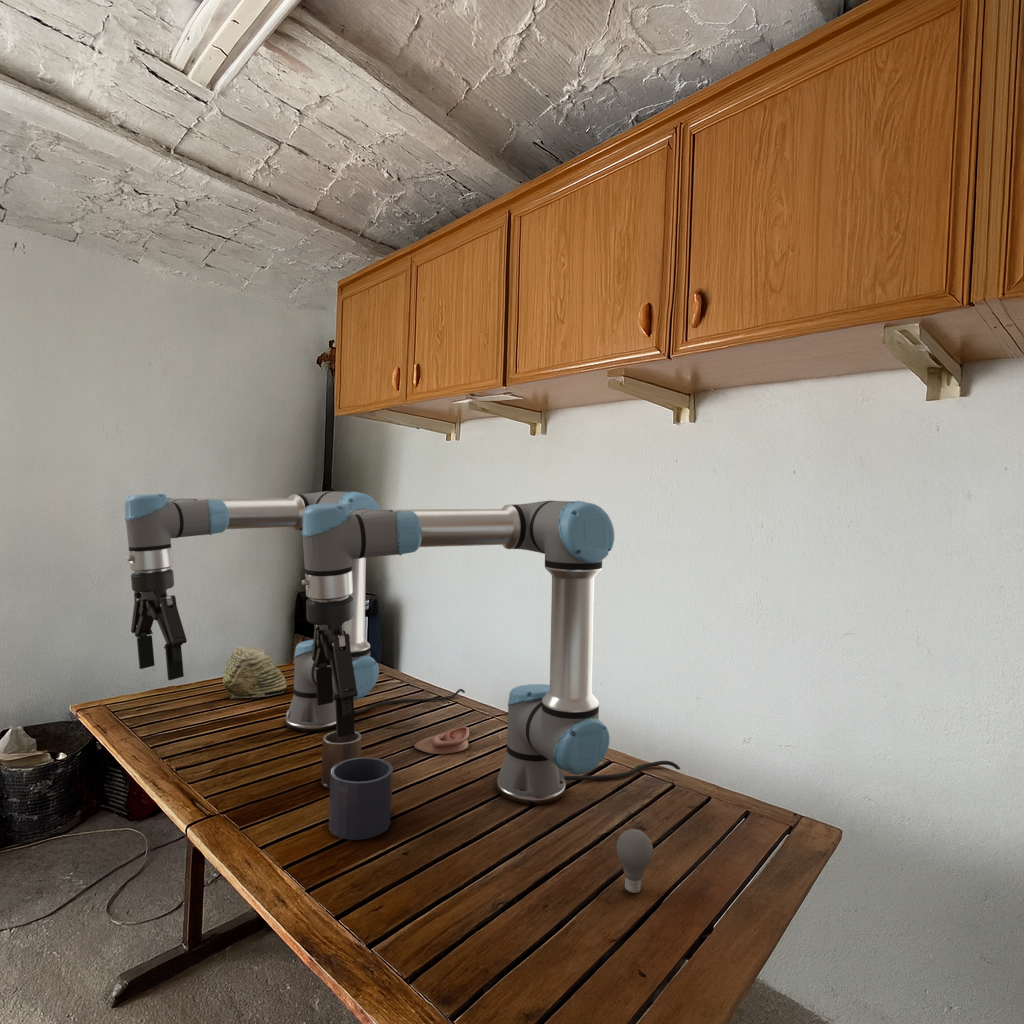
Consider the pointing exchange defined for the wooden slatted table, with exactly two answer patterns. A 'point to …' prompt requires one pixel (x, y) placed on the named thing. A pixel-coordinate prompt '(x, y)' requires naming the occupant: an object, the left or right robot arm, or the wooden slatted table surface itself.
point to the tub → (360, 798)
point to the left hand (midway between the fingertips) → (161, 672)
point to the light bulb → (634, 857)
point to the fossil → (252, 674)
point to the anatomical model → (445, 742)
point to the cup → (338, 752)
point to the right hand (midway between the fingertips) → (335, 718)
